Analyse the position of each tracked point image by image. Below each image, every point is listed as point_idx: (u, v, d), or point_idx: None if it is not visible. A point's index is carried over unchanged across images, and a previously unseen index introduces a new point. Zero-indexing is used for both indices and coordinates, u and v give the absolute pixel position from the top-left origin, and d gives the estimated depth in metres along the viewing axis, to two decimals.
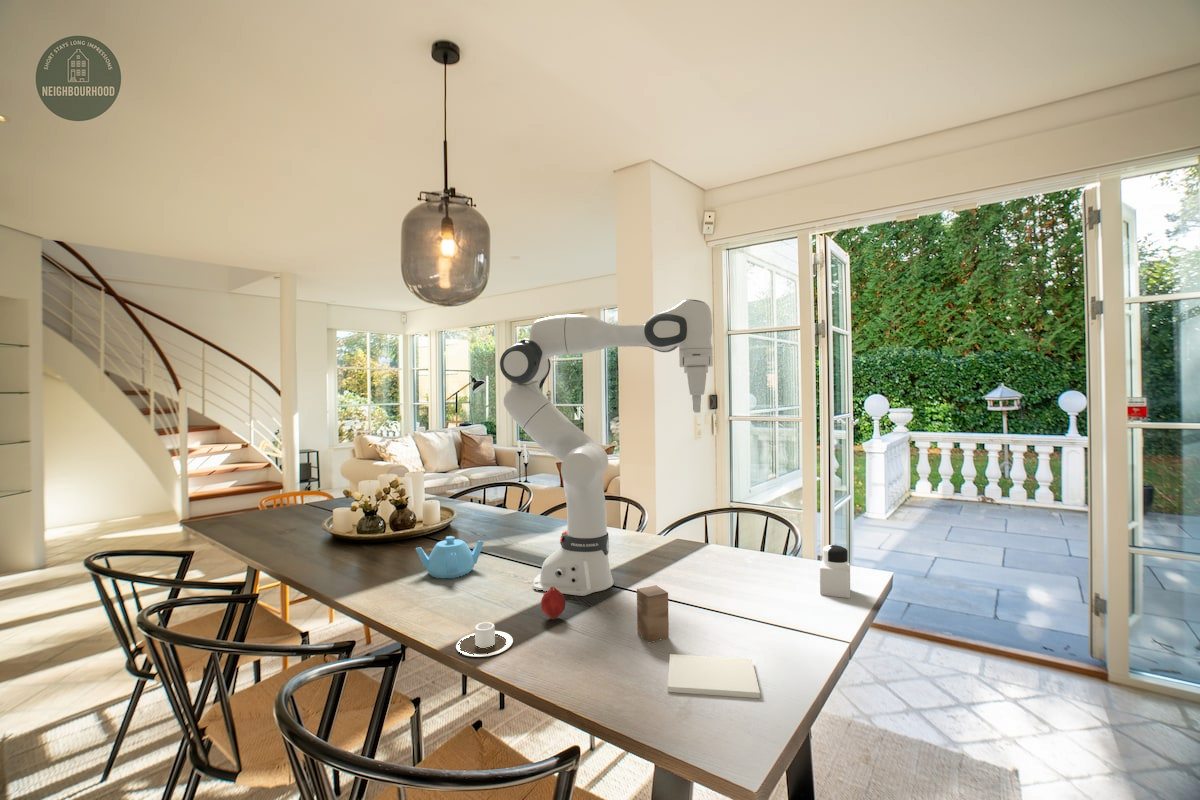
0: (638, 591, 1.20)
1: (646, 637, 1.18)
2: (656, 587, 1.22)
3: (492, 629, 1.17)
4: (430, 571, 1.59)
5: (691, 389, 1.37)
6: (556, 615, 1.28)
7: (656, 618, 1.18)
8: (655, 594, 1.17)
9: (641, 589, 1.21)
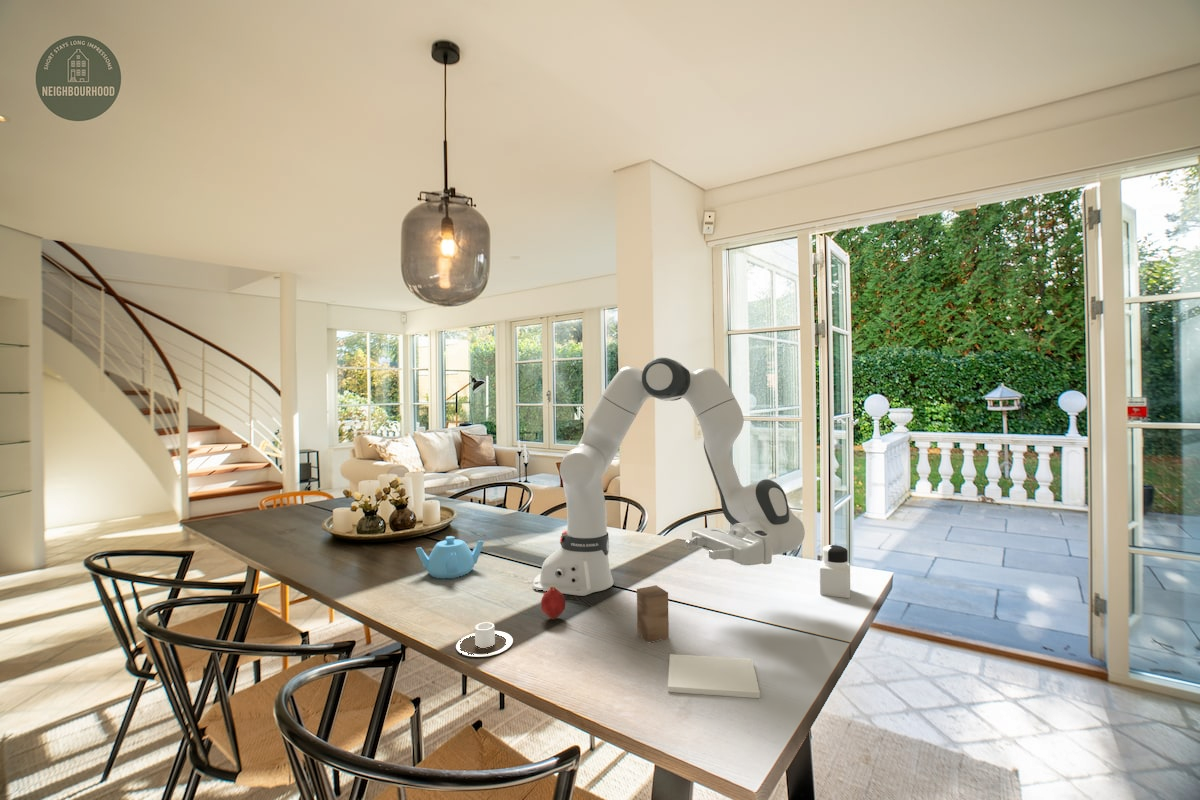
0: (638, 591, 1.20)
1: (646, 637, 1.18)
2: (656, 587, 1.22)
3: (492, 629, 1.16)
4: (430, 571, 1.59)
5: (747, 551, 1.18)
6: (556, 615, 1.28)
7: (656, 618, 1.18)
8: (655, 594, 1.17)
9: (641, 589, 1.21)
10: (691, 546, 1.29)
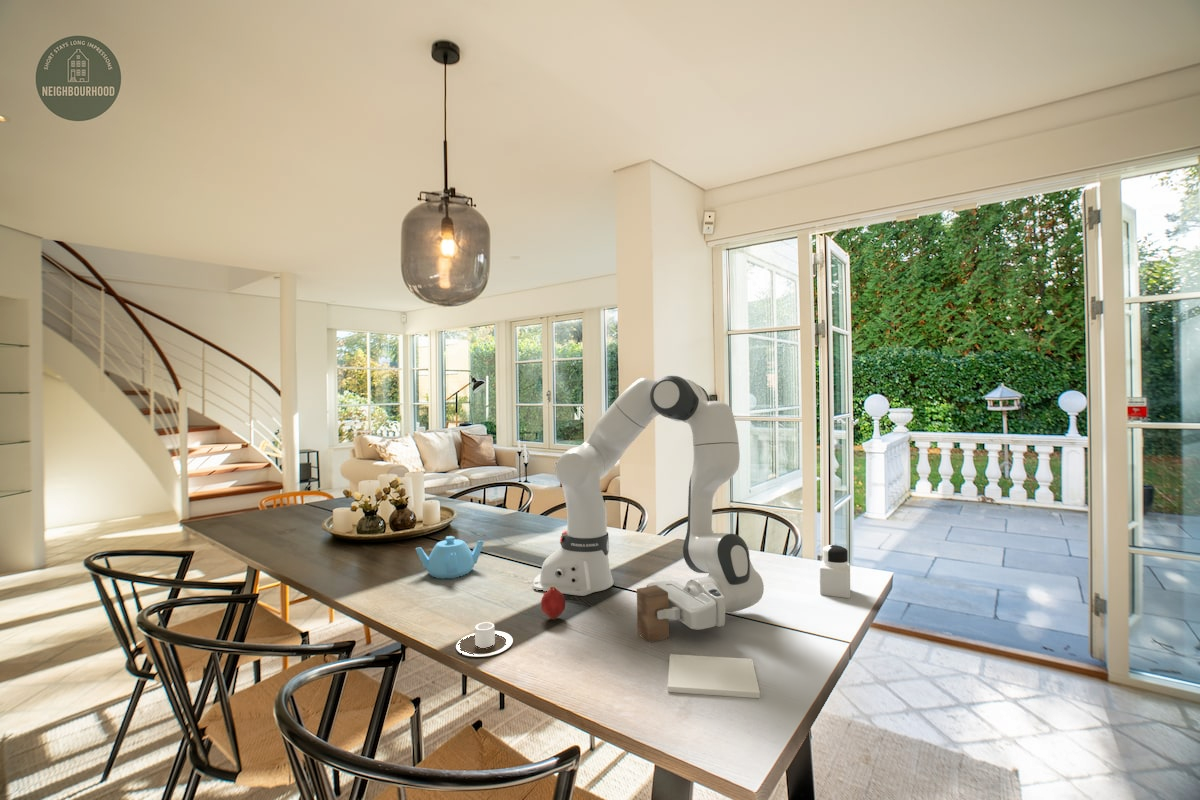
0: (638, 591, 1.20)
1: (646, 637, 1.18)
2: (656, 587, 1.22)
3: (492, 629, 1.17)
4: (430, 571, 1.59)
5: (698, 614, 1.13)
6: (556, 615, 1.28)
7: (657, 618, 1.18)
8: (655, 594, 1.17)
9: (641, 589, 1.21)
10: None
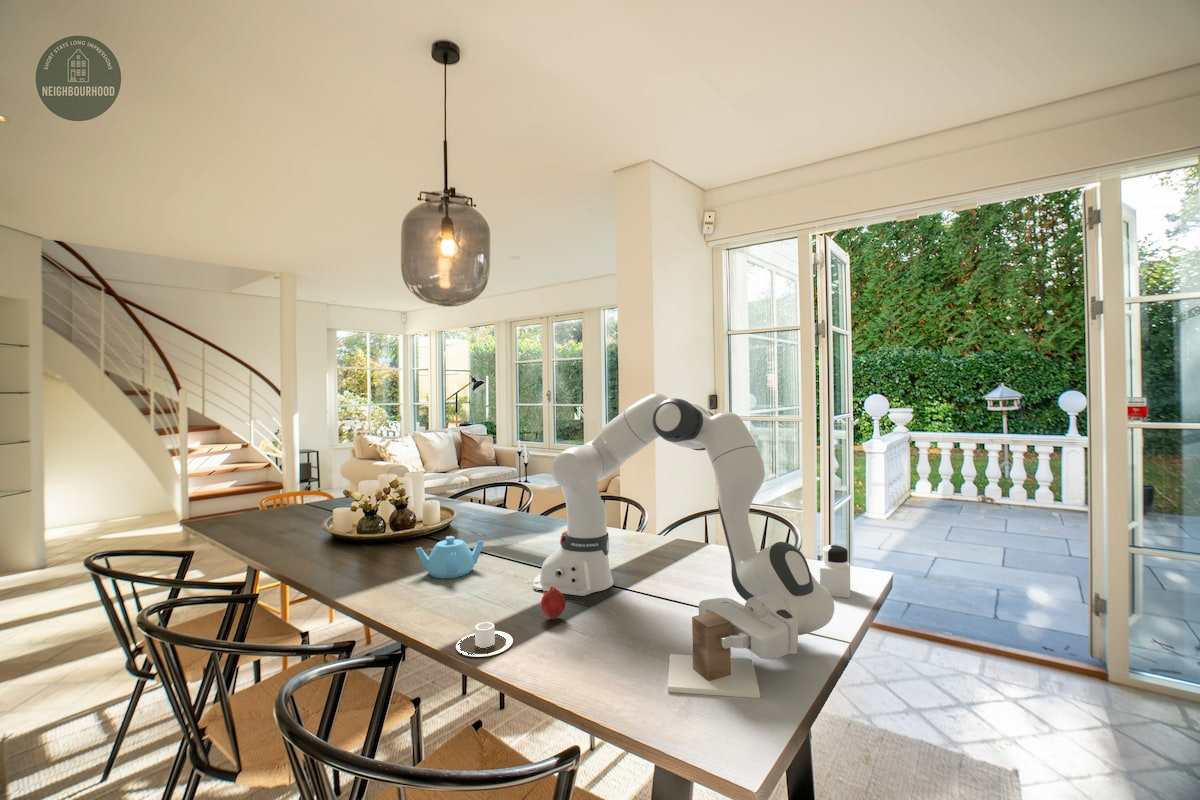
0: (694, 619, 1.03)
1: (705, 674, 1.00)
2: (714, 614, 1.04)
3: (492, 629, 1.17)
4: (430, 571, 1.59)
5: (769, 641, 0.95)
6: (556, 615, 1.28)
7: (717, 652, 1.00)
8: (716, 624, 1.00)
9: (697, 617, 1.03)
10: None
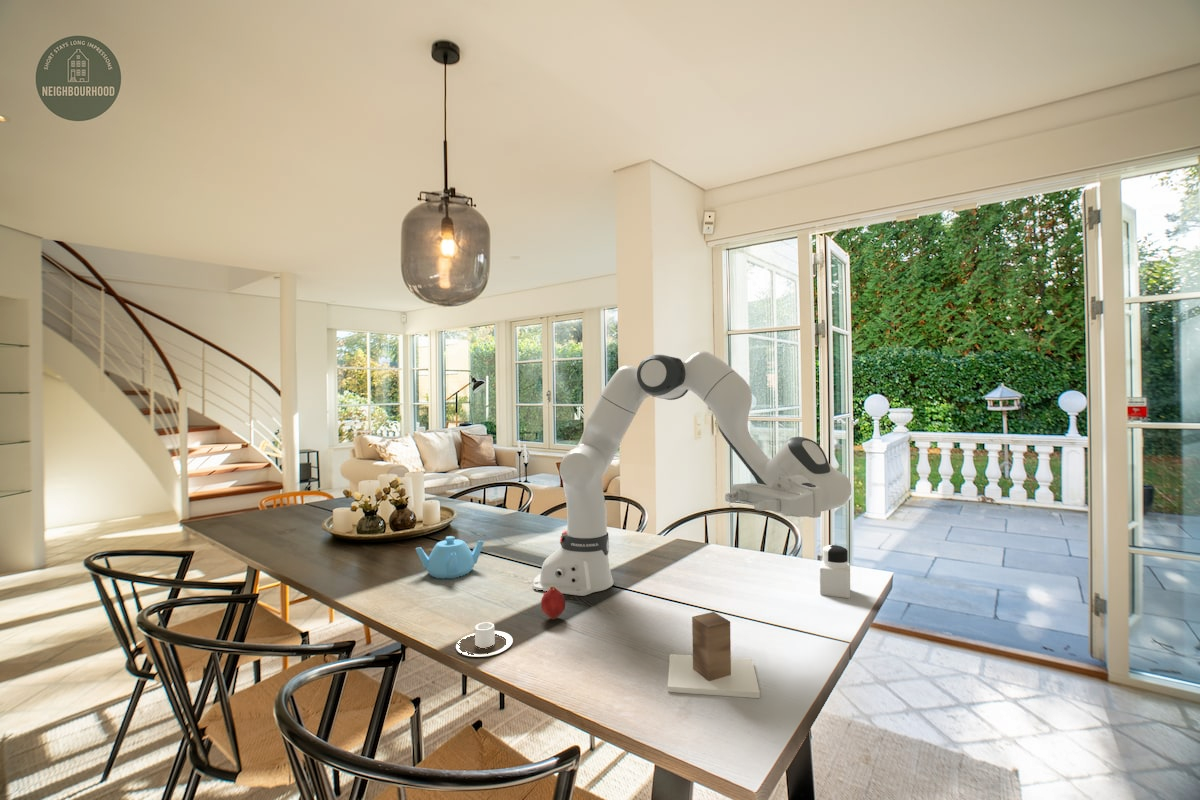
0: (694, 619, 1.03)
1: (705, 674, 1.00)
2: (714, 614, 1.04)
3: (492, 629, 1.17)
4: (430, 571, 1.59)
5: (797, 501, 1.09)
6: (556, 615, 1.28)
7: (717, 652, 1.00)
8: (716, 624, 1.00)
9: (697, 617, 1.03)
10: (732, 499, 1.20)
